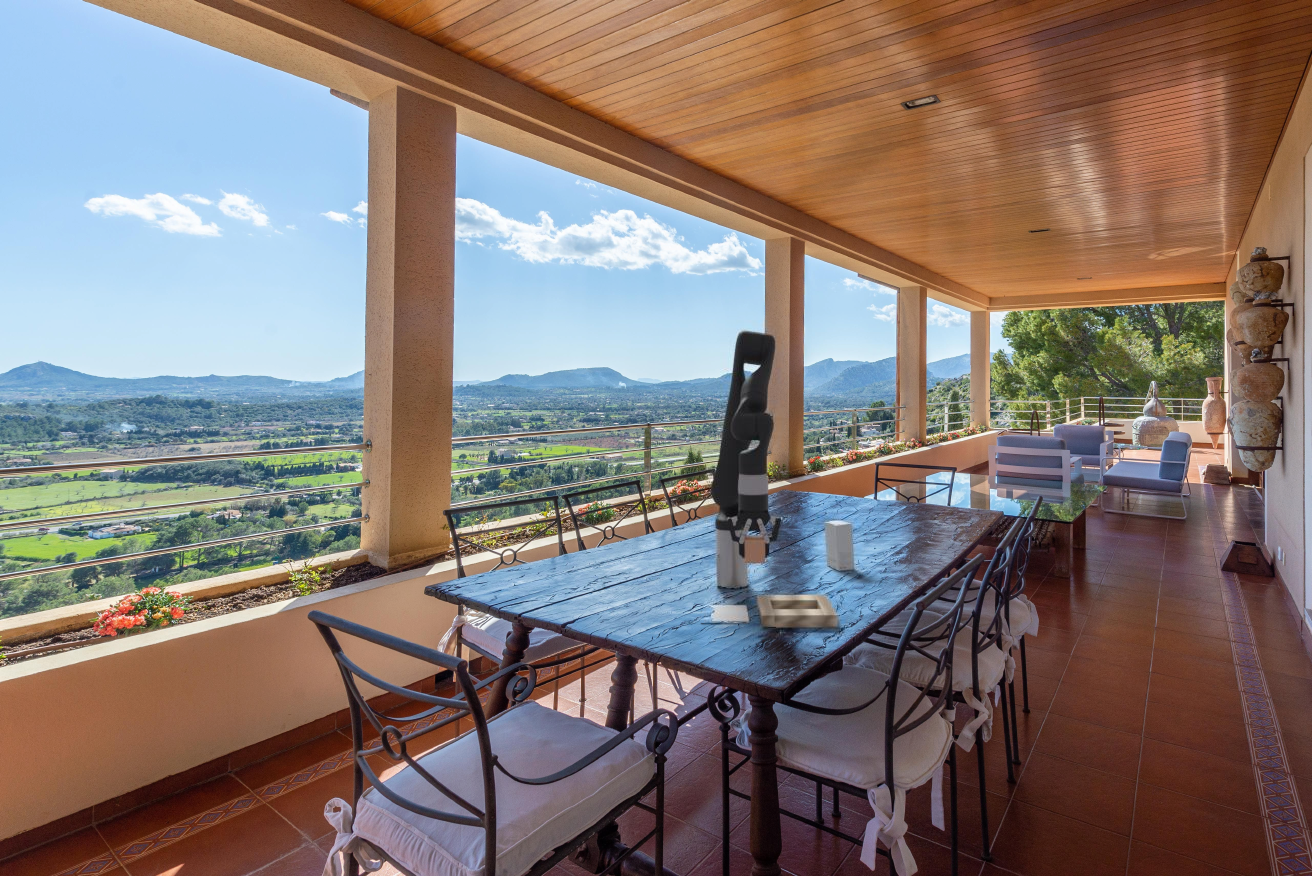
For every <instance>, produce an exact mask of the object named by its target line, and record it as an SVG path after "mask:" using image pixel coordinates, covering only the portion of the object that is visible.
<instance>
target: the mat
mask: <svg viewBox="0 0 1312 876" xmlns="http://www.w3.org/2000/svg"><path fill="white" fill-rule="evenodd" d="M709 606H711V607H713V608H715V609H713V610H715V613H712V614H711V618H713V620H712V621H723V622H724V621H728V622H730V621H731V622H748V623H747V624H750V618H749V613H748V607H747V605H746V604H745V605H742V604H737V605H736V604H734V605H733V604H732V605H725V604H724V605H722V604H721V605H714V604H713V605H709Z"/></svg>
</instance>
